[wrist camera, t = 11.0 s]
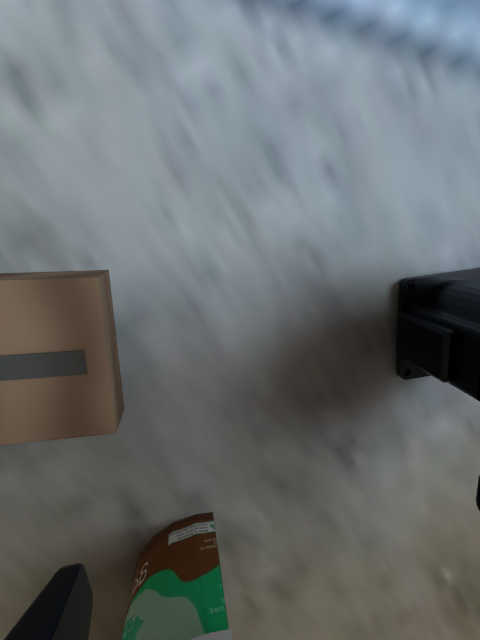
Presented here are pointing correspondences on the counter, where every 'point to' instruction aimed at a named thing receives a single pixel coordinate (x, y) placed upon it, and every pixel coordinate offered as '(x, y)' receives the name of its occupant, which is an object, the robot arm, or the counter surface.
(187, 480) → the counter surface
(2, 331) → the console
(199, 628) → the food container
